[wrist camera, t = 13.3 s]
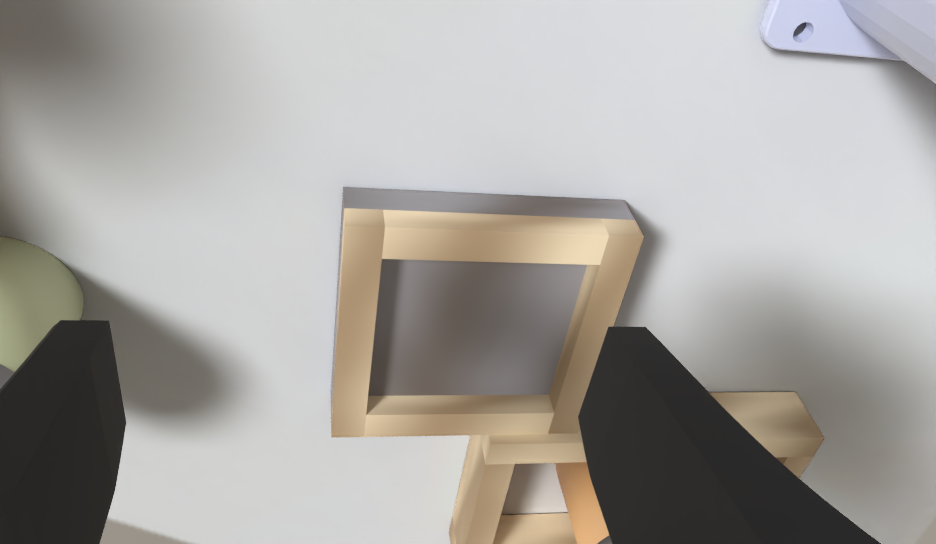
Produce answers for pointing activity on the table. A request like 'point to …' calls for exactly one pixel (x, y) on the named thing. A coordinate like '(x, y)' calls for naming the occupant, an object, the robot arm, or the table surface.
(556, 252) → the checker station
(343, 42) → the table surface
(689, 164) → the table surface
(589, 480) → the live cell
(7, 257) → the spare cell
